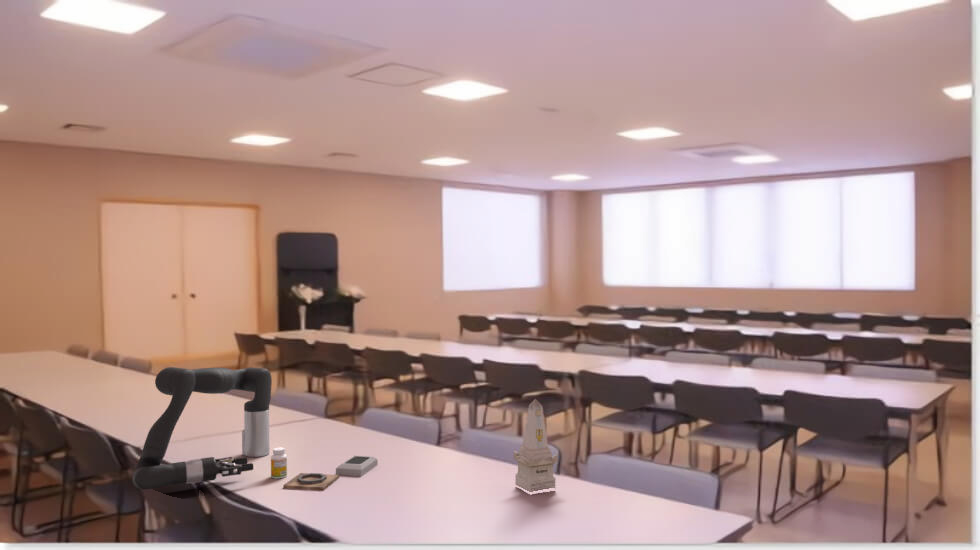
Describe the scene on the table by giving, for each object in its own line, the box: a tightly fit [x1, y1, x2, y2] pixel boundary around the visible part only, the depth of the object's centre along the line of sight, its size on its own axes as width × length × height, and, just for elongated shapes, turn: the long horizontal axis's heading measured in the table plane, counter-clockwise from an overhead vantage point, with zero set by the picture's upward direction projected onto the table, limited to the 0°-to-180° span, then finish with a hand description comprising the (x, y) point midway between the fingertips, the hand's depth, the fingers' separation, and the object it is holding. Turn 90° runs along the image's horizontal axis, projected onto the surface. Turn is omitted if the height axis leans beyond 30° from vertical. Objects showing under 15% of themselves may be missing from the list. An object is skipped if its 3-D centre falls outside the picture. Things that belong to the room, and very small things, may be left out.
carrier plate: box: [282, 472, 340, 491], centre depth 256 cm, size 14×14×2 cm
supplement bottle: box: [270, 446, 288, 479], centre depth 263 cm, size 5×5×10 cm
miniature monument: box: [513, 398, 558, 492], centre depth 249 cm, size 10×10×30 cm
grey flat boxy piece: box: [335, 455, 379, 477], centre depth 272 cm, size 10×4×15 cm
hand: (250, 463), depth 258 cm, fingers open, 8 cm apart
